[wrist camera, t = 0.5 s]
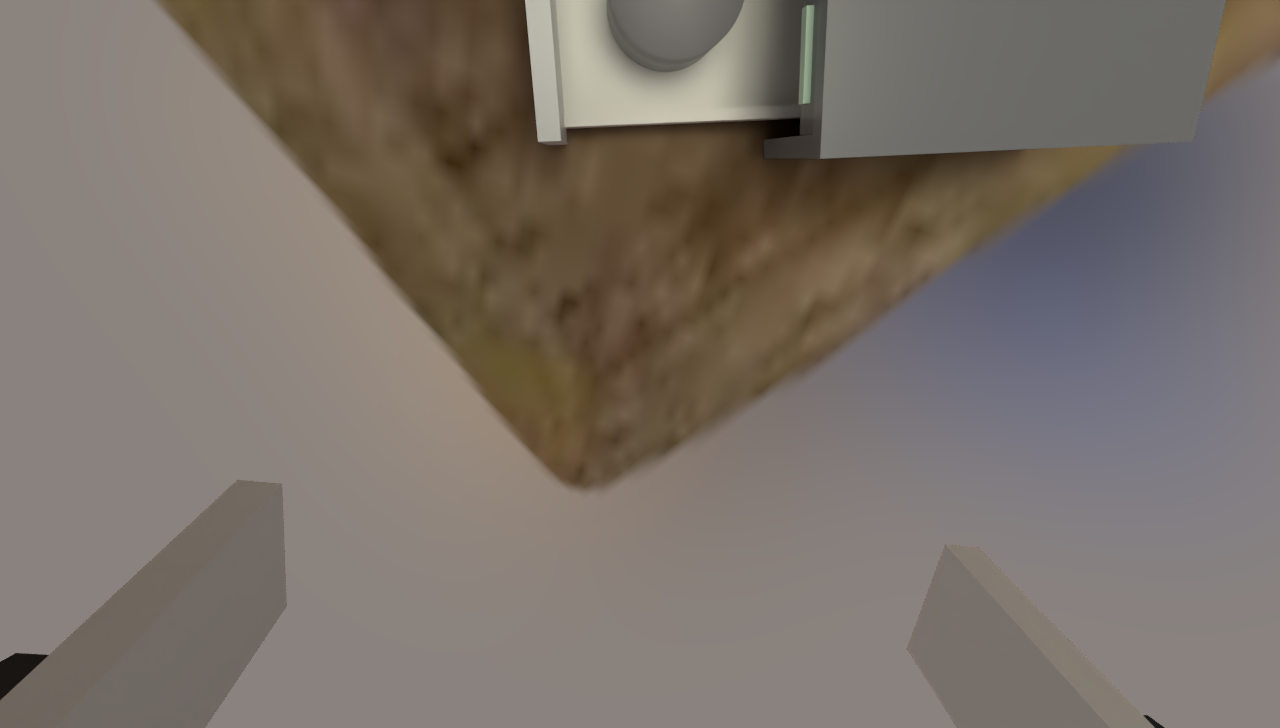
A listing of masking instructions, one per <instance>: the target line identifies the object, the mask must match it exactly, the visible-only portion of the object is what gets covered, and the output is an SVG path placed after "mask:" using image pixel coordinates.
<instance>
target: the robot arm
mask: <svg viewBox="0 0 1280 728" xmlns="http://www.w3.org/2000/svg"><path fill="white" fill-rule="evenodd" d="M283 523H284V522H283V496H282V484H276V483H265V482H254V481H243V480H237V481H236V482H235V483H234V484H233V485H232V486H231V487H229V488H228V489H227V490H226V491H225V492H224V493H223V494H222V495H221V496H220V497H219V498H218V499H217V500H216V501H214V502H213V503H212V504H211V505H210V506H209V507H208V508H207V509H206V510H205V511H204V512H203V513H201V514H200V515H199V516H198V517H197V518H196V519H195V520H194V521H193V522H192V523H191V524H190V525H189V526H187V527H186V529H184V530H183V531H182V532H181V533H180V534H179V535H178V536H177V537H176V538H175V539H173V541H171V542H170V543H169V544H168V545H167V546H166V547H165V548H164V549H163V550H162V551H161V552H160V553H158V554H157V555H156V556H155V557H154V558H153V559H152V560H151V561H150V562H149V563H148V564H147V565H145V566H144V567H143V568H142V569H141V570H140V571H139V572H138V573H137V574H136V575H135V576H134V577H133V578H132V579H130V580H129V581H128V582H127V583H126V584H125V585H124V586H123V587H122V588H121V589H120V590H119V591H117V592H116V593H115V594H114V595H113V596H112V597H111V598H110V599H109V600H108V601H107V602H106V603H105V604H104V605H102V606H101V607H100V608H99V609H98V610H97V611H96V612H95V613H94V614H93V615H92V616H91V617H90V618H89V619H87V620H86V621H85V622H84V623H83V624H82V625H81V626H80V627H79V628H78V629H77V630H76V631H74V632H73V633H72V634H71V635H70V636H69V637H68V638H67V639H66V640H65V641H64V642H63V643H62V644H60V645H59V646H58V647H57V648H56V649H55V650H54V651H53V652H52V653H51V654H50V655H38V654H20V653H15V654H14V655H12V656H10V657H8V658H6V659H5V660H3V661H1V662H0V728H205V727H206V726H207V724H208V723H209V721H210V720H211V718H212V717H213V715H214V714H215V712H216V711H217V709H218V708H219V706H220V705H221V703H222V702H223V700H224V699H225V697H226V696H227V694H228V693H229V691H230V690H231V688H232V687H233V685H234V684H235V682H236V681H237V680H238V678H239V676H240V675H241V673H242V672H243V671H244V669H245V668H246V666H247V664H248V663H249V662H250V660H251V659H252V657H253V656H254V654H255V653H256V651H257V650H258V648H259V647H260V645H261V644H262V642H263V641H264V639H265V638H266V636H267V635H268V633H269V632H270V630H271V629H272V627H273V626H274V624H275V623H276V621H277V620H278V618H279V617H280V615H281V614H282V612H283V611H284V609H285V608H286V606H287V603H286V577H285V550H284V524H283ZM907 650H908V651H909V653H910V654H911V656H912V657H913V659H914V661H915V662H916V664H917V665H918V667H919V668H920V670H921V672H922V673H923V675H924V676H925V678H926V679H927V681H928V683H929V684H930V686H931V687H932V689H933V691H934V692H935V694H936V695H937V697H938V699H939V700H940V701H941V703H942V705H943V706H944V708H945V710H946V711H947V713H948V714H949V716H950V717H951V719H952V721H953V722H954V724H955V725H956V727H957V728H1164V727H1163V726H1161V725H1160V724H1159V723H1157V722H1156V721H1155V720H1153V719H1152V718H1150V717H1149V716H1147V715H1142V714H1141V713H1140V712H1139V711H1138V710H1137V709H1136V708H1135V707H1134V706H1133V705H1132V704H1131V703H1130V702H1129V701H1128V700H1127V699H1126V698H1125V697H1124V696H1123V695H1122V694H1121V693H1120V692H1119V690H1117V688H1116V687H1115V686H1114V685H1113V684H1112V683H1111V682H1110V681H1109V680H1108V679H1107V678H1106V677H1105V676H1104V675H1103V674H1102V673H1101V672H1100V671H1099V670H1098V669H1097V668H1096V667H1095V666H1094V665H1093V664H1092V663H1091V662H1090V661H1089V660H1088V659H1087V658H1086V657H1085V656H1084V655H1083V654H1082V653H1081V652H1080V651H1079V650H1078V649H1077V648H1076V646H1075V645H1073V643H1071V641H1070V640H1069V639H1068V638H1067V637H1066V636H1065V635H1064V634H1063V633H1062V632H1061V631H1060V630H1059V629H1058V628H1057V627H1056V626H1055V625H1054V624H1053V623H1052V622H1051V621H1050V620H1049V619H1048V618H1047V617H1046V616H1045V615H1044V614H1043V613H1042V612H1041V611H1040V610H1039V609H1038V608H1037V607H1036V606H1035V605H1034V604H1033V602H1032V601H1031V600H1030V599H1028V597H1027V596H1026V595H1025V594H1024V593H1023V592H1022V591H1020V589H1019V588H1018V587H1017V586H1016V585H1015V584H1014V583H1013V582H1012V581H1011V580H1010V579H1009V578H1008V577H1007V576H1006V575H1005V574H1004V573H1003V572H1002V571H1001V570H1000V569H999V568H998V567H997V566H996V565H995V564H994V563H993V562H992V560H991V559H990V558H989V557H988V556H987V555H986V554H985V553H984V552H983V551H982V550H981V549H980V548H979V547H967V546H957V545H945V547H944V549H943V552H942V555H941V557H940V560H939V563H938V566H937V568H936V571H935V573H934V576H933V579H932V582H931V584H930V587H929V590H928V593H927V595H926V598H925V601H924V603H923V606H922V609H921V612H920V614H919V617H918V620H917V623H916V626H915V628H914V631H913V633H912V636H911V639H910V642H909V644H908V647H907Z"/></svg>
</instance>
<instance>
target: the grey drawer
mask: <svg viewBox="0 0 1280 728" xmlns="http://www.w3.org/2000/svg"><path fill="white" fill-rule="evenodd" d="M525 5H526V16H527V27H528V38H529V49H530V60H531V70H532V81H533V92H534V103H535V114H536V125H537V136H538V142H540V143H543V144H546V145H567V132H566V129H572V128H595V127H619V126H642V125H665V124H689V123H712V122H735V121H758V120H782V119H800V115H801V105H799V78H800V51H801V24H802V9H803V8H804V7H805V0H525Z"/></svg>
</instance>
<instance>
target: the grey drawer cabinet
mask: <svg viewBox="0 0 1280 728" xmlns="http://www.w3.org/2000/svg"><path fill="white" fill-rule="evenodd" d="M1225 4H1226V0H805V7H804V8H803V9H802V24H801V51H800V78H799V105H801V115H800V135H802V136H793V137H784V138H775V139H766V140H764V158H812V159H827V158H849V157H870V156H891V155H913V154H934V153H955V152H977V151H998V150H1019V149H1041V148H1062V147H1083V146H1105V145H1126V144H1148V143H1169V142H1190V141H1194V137H1195V132H1196V128H1197V124H1198V120H1199V115H1200V111H1201V107H1202V103H1203V98H1204V94H1205V90H1206V85H1207V81H1208V77H1209V73H1210V68H1211V64H1212V60H1213V55H1214V51H1215V47H1216V43H1217V38H1218V34H1219V30H1220V25H1221V21H1222V17H1223V13H1224V8H1225Z"/></svg>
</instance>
